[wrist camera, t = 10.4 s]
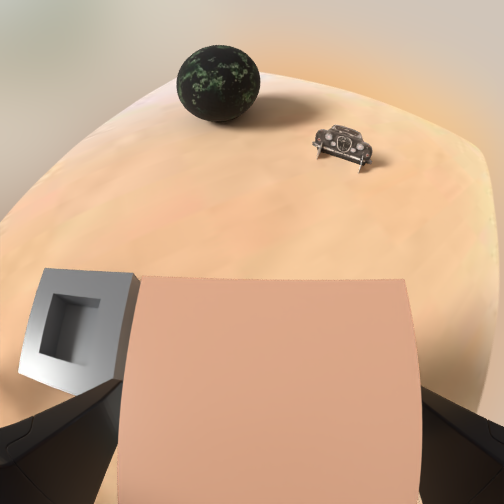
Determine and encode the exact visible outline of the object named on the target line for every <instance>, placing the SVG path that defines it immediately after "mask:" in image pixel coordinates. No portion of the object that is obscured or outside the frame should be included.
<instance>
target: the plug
mask: <svg viewBox="0 0 504 504" xmlns="http://www.w3.org/2000/svg"><path fill="white" fill-rule="evenodd" d="M421 457H422V401H421V384H420V372H419V362H418V354H417V346H416V339H415V332H414V326H413V320H412V314H411V309H410V303H409V298H408V293H407V289H406V284H405V280H404V279H381V280H259V279H214V278H183V277H158V276H142V280H141V284H140V289H139V293H138V298H137V302H136V307H135V312H134V317H133V323H132V328H131V334H130V339H129V345H128V352H127V358H126V365H125V372H124V380H123V389H122V398H121V408H120V420H119V435H118V461H117V488H118V504H417V500H418V492H419V483H420V472H421Z"/></svg>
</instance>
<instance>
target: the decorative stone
mask: <svg viewBox="0 0 504 504" xmlns="http://www.w3.org/2000/svg"><path fill="white" fill-rule="evenodd" d="M259 89H260V74H259V71H258V68H257V66H256V64H255V63H254V61H253V60H252V59H251V58H250V57H249V56H248V55H247V54H246V53H244V52H243V51H241V50H239V49H236V48H234V47H231V46H224V45H215V46H214V45H213V46H209V47H205V48H202V49H200V50H198V51H196V52H195V53H193V54H192V55H191V56H190V57H189V58H188V59H187V60H186V61H185V62H184V63H183V65H182V66H181V68H180V70H179V73H178V77H177V93H178V96H179V99H180V101H181V103H182V104H183V106H184V107H185V108H186V109H187V110H188V111H189V112H190V113H192V114H193V115H195V116H196V117H198V118H201V119H204V120H207V121H226V120H230V119H233V118H235V117H238V116H239V115H241V114H243V113H244V112H245V111H246V110H248V109H249V108H250V106H251V105H252V104H253V103H254V101H255V99H256V98H257V95H258V93H259Z"/></svg>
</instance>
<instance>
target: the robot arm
mask: <svg viewBox="0 0 504 504" xmlns="http://www.w3.org/2000/svg"><path fill="white" fill-rule="evenodd" d="M122 389H123V380H120V379H115V378H112V379H110V380H108V381H106V382H104V383H102V384H100V385H98V386H96V387H94V388H92V389H90V390H88V391H86V392H84V393H82V394H80V395H77V396H75V397H73V398H71V399H69V400H67V401H65V402H63V403H60V404H58V405H56V406H54V407H52V408H50V409H47V410H45V411H43V412H41V413H38V414H36V415H34V416H32V417H29V418H27V419H25V420H22V421H20V422H17V423H15V424H12V425H9V426H6V427H2V428H0V504H94V502H95V499H96V496H97V494H98V491H99V489H100V486H101V484H102V481H103V478H104V476H105V473H106V471H107V469H108V466H109V464H110V461H111V459H112V456H113V454H114V452H115V449H116V447H117V445H118V435H119V420H120V408H121V398H122ZM421 401H422V457H421V472H420V483H419V493H420V496H421V499H422V503H423V504H504V427H503V426H501V425H498V424H496V423H494V422H492V421H490V420H487V419H486V418H484V417H481V416H479V415H477V414H475V413H473V412H471V411H469V410H467V409H465V408H463V407H461V406H459V405H457V404H455V403H453V402H451V401H449V400H447V399H446V398H444V397H442V396H440V395H438V394H436V393H434V392H432V391H430V390H428V389H426V388H424V387H423V386H421Z"/></svg>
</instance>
